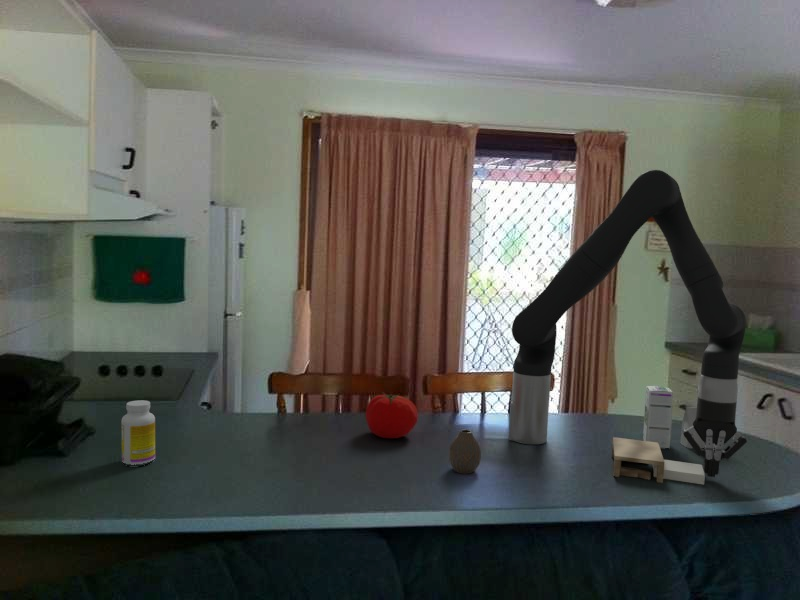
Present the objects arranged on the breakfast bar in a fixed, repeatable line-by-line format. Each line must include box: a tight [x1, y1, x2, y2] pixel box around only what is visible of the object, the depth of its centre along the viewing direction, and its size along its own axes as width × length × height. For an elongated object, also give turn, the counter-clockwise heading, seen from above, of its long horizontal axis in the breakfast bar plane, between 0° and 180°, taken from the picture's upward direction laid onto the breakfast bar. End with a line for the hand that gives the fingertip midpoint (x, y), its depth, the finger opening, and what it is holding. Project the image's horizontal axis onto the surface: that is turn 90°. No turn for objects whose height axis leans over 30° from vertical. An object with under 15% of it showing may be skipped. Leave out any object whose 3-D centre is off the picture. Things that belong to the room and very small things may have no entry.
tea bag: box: [679, 406, 714, 450], centre depth 163 cm, size 4×7×10 cm, turn 91°
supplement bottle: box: [120, 399, 156, 465], centre depth 136 cm, size 7×7×13 cm
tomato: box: [365, 391, 419, 439], centre depth 161 cm, size 13×12×11 cm
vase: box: [448, 429, 482, 475], centre depth 139 cm, size 7×7×9 cm
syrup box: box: [642, 385, 674, 449], centre depth 162 cm, size 6×6×14 cm
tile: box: [652, 459, 706, 486], centre depth 142 cm, size 10×7×2 cm
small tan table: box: [611, 436, 665, 484], centre depth 144 cm, size 10×14×5 cm
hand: (710, 475), depth 139 cm, fingers closed
